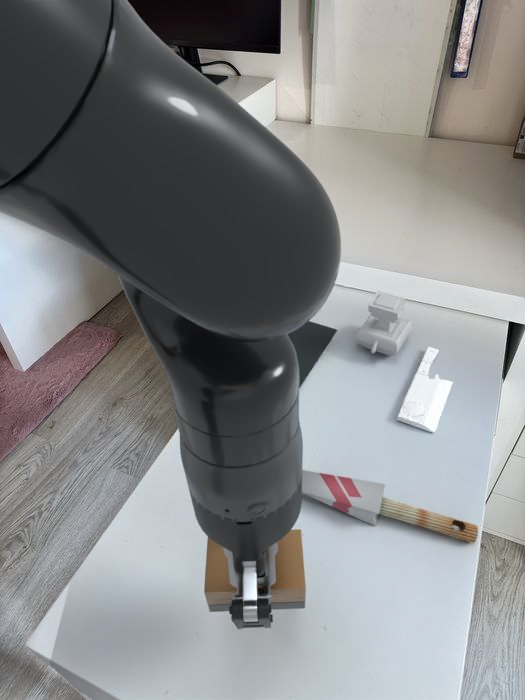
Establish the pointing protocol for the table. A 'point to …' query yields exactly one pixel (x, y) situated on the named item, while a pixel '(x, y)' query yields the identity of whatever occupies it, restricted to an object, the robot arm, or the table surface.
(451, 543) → the table surface
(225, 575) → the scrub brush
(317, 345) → the mat
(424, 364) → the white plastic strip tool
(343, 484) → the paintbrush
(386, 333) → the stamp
